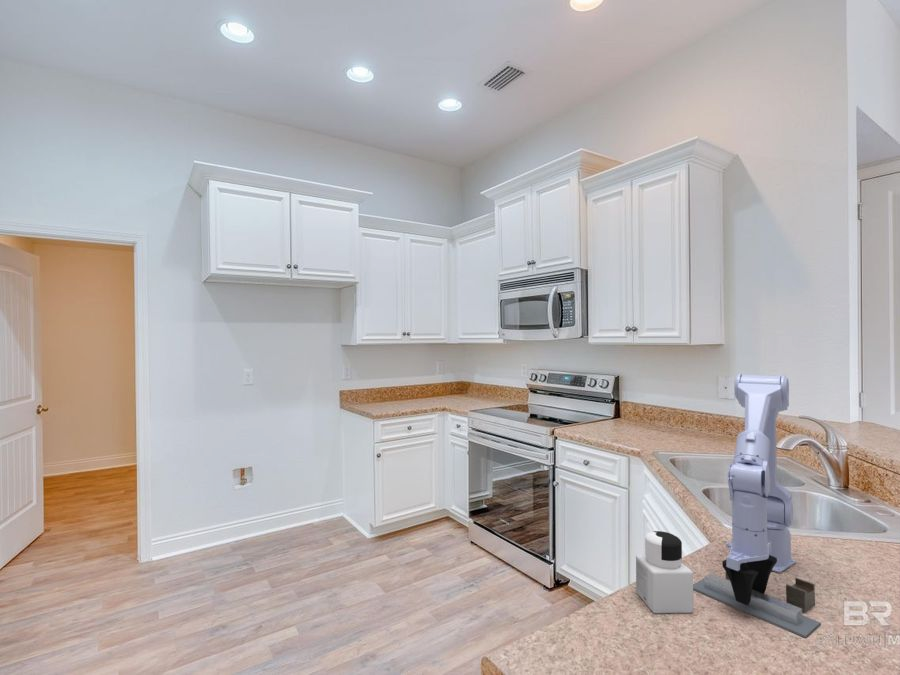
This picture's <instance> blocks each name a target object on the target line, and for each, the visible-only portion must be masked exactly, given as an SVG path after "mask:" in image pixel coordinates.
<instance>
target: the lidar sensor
mask: <svg viewBox="0 0 900 675" xmlns="http://www.w3.org/2000/svg"><path fill="white" fill-rule="evenodd" d="M682 543H683V542H682V540H681V539H680V537H678V536H677V535H675V534H672V533H671V532H667V531H662V530H661V531H660V530H658V531H657V530H655V531H650V532H647V533H646V534H645V536H644V554H636V555H635V592H636V594H637V595H638V596H639V597H640V599H641V600H642V601H643V602H644V604H646V606H647V607H648V608H649V609H650V611H651V612H653V614H691V613H694V590H693V584H694V572H693V571H692V570H691V569H690V568H689V567H688V566H686V565H685V564H684V563H682V562H683V548H682V547H683V544H682Z"/></svg>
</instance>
